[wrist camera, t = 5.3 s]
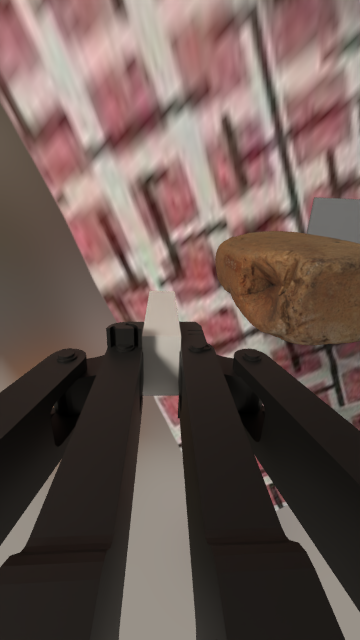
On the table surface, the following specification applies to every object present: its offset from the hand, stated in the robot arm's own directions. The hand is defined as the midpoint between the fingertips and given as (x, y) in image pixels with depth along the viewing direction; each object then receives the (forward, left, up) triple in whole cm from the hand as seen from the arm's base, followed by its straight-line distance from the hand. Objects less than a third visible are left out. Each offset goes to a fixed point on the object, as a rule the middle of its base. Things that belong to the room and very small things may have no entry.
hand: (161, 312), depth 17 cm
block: (+12, 0, -21) cm, 24 cm away
